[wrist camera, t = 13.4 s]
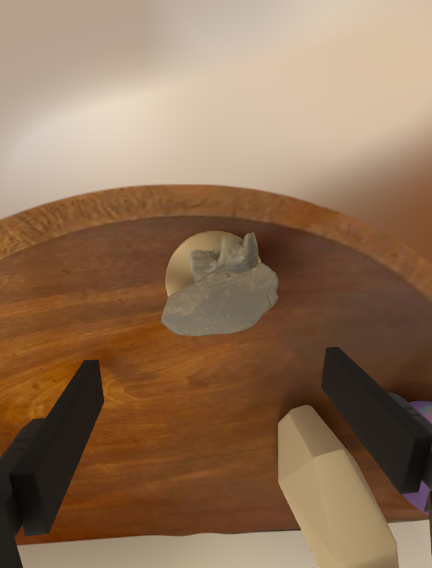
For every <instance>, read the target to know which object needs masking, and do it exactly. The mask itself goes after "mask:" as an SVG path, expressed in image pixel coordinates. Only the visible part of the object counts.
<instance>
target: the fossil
mask: <svg viewBox="0 0 432 568" xmlns="http://www.w3.org/2000/svg"><path fill="white" fill-rule="evenodd" d="M258 257H259V256H258V246H257V241H256V238H255V235H254V232H253V233H250V234H249V233H248V234H246V235H245V237H244V239H243V241H241V242H238V241H237V240H236V238H234V237H233V238H229V237H228V236H225V237H221V244H220V245H219V246H218V247H217V248H215V249H213V250H212V251H203V250H193V251H190V254H189V259H190V271H191V275H192V278H193V280H194V283H193V284H191V285H189V286H187V287H185V288H183V289H182V290H180V291H178V292H175V293H173V294H171V295H170V296H169V297H168V299H167V304H166V306H165V308H164V312H163V315H162V318H161V322H162V324H164V325H165V326H166V327H167V328H168V329H169V330H171V331H172V332H174V333H176V334H178V335H190V336H201V335H213V334H231V333H235V332H238V331H242V330H245V329H248V328H250V327H252V326H253V325H254V324H256V323H257V321H259V320H260V318H261V316H262V315H263V314H264V313H265V312H267V311H268V310H269V309H270V308H271V307H272V306H274V305H275V303H276V301H277V299H278V295H277V292H276V291H277V287H278V284H279V281H278V278H277V275H276V273H275V272H273V271H272V270H271V269H270V268H269V267H268V266H266V265H265V264H264V263H261V262H260V263H258Z"/></svg>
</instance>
